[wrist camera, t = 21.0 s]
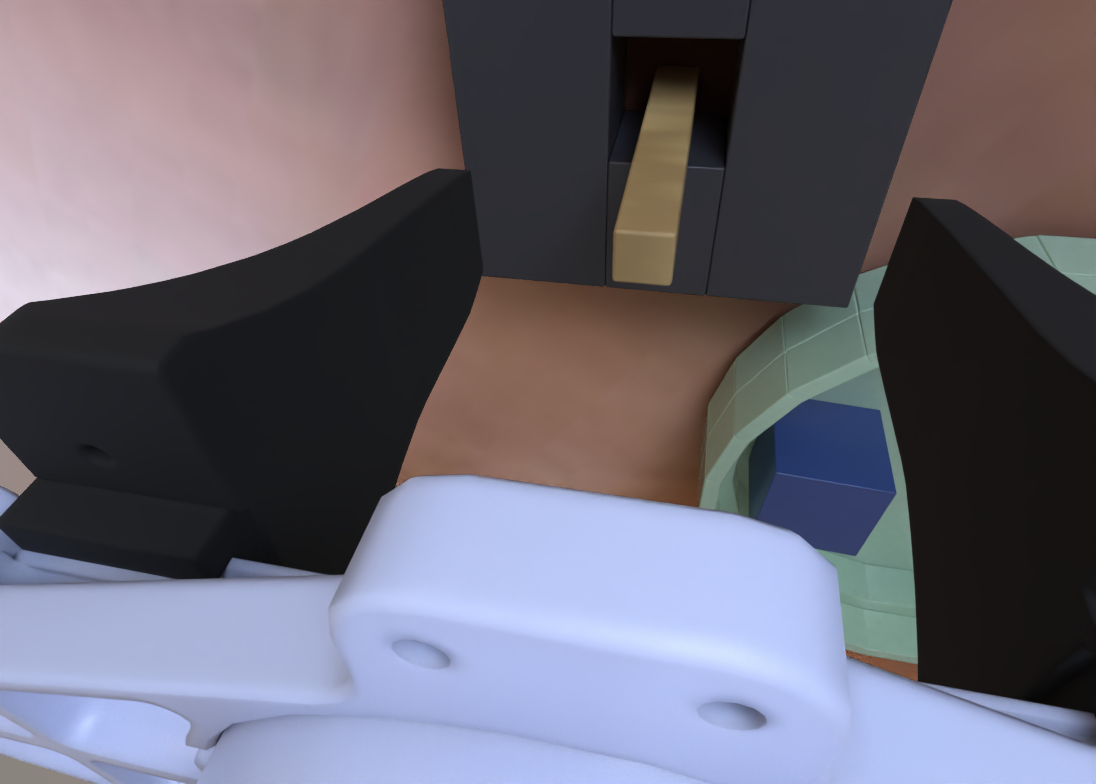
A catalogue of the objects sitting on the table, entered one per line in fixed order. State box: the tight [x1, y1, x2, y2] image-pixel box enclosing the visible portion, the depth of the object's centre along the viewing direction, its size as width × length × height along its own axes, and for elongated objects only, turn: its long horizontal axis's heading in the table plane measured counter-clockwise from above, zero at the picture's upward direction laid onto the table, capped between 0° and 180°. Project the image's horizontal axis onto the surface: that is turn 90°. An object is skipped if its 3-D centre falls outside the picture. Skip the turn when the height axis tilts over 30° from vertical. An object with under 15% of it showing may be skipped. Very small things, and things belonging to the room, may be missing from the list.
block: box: [749, 399, 897, 556], centre depth 25 cm, size 4×4×4 cm
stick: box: [612, 66, 700, 286], centre depth 16 cm, size 1×1×9 cm
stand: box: [443, 0, 953, 308], centre depth 17 cm, size 11×11×4 cm
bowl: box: [697, 235, 1096, 664], centre depth 25 cm, size 19×19×4 cm
